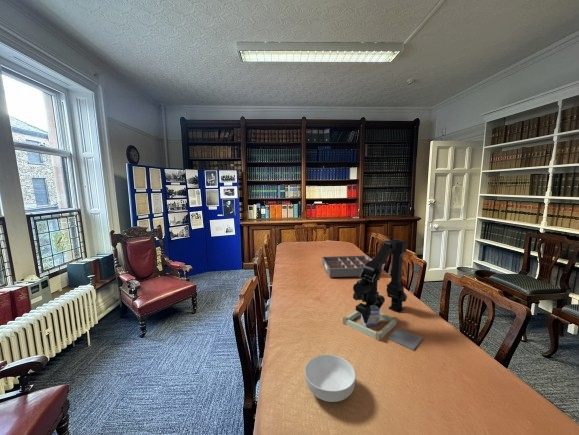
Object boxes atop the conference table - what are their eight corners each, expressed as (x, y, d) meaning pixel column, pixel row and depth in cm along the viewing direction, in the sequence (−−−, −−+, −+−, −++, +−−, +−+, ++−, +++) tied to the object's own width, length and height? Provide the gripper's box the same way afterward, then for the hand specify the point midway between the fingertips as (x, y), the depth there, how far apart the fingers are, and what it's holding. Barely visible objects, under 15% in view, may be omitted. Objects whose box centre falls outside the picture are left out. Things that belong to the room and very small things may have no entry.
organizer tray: (321, 265, 210) (321, 254, 208) (365, 264, 211) (366, 253, 210) (329, 279, 178) (329, 266, 177) (381, 277, 180) (381, 264, 178)
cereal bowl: (347, 369, 89) (347, 352, 88) (362, 411, 73) (362, 390, 72) (302, 371, 89) (302, 354, 88) (307, 413, 72) (307, 392, 71)
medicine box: (365, 327, 116) (366, 310, 115) (360, 322, 120) (361, 306, 119) (379, 324, 118) (380, 308, 117) (374, 320, 122) (374, 304, 121)
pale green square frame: (362, 309, 133) (362, 304, 132) (397, 323, 119) (397, 317, 118) (342, 323, 120) (342, 317, 119) (379, 341, 106) (379, 334, 105)
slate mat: (397, 328, 114) (397, 327, 114) (422, 339, 106) (422, 337, 106) (387, 338, 107) (387, 337, 107) (413, 350, 99) (413, 349, 99)
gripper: (365, 280, 129) (365, 307, 131) (346, 290, 116) (345, 320, 118) (385, 286, 121) (384, 314, 123) (367, 298, 108) (366, 329, 110)
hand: (370, 319), depth 119 cm, fingers closed on medicine box, 9 cm apart
